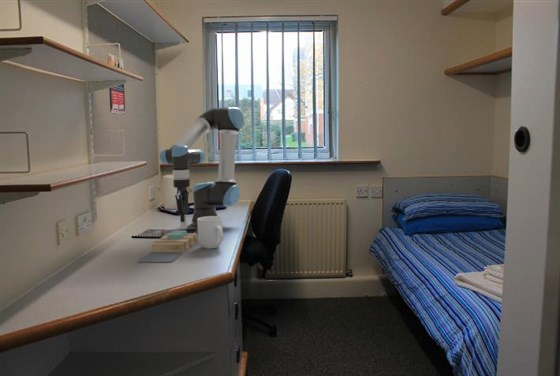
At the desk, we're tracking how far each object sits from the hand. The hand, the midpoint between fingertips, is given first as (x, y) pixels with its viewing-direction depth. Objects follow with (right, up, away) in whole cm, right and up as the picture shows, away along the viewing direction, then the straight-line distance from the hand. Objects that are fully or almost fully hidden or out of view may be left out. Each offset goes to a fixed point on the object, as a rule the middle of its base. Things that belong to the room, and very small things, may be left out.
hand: (183, 228), depth 218 cm
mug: (+16, -8, -14) cm, 22 cm away
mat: (-3, -10, -29) cm, 30 cm away
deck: (-1, -8, -12) cm, 14 cm away
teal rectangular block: (-1, -3, -9) cm, 10 cm away
